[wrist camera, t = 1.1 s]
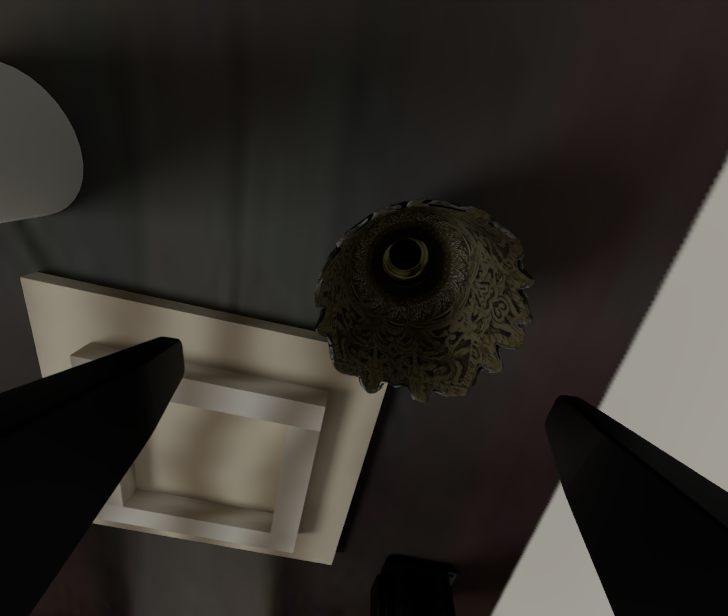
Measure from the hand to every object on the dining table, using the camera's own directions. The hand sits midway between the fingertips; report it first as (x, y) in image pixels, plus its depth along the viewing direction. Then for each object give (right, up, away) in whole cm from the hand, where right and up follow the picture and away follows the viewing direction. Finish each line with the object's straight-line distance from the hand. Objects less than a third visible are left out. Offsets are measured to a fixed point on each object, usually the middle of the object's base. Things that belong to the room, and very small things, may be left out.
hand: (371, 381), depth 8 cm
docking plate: (-11, -8, +17) cm, 22 cm away
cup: (+2, +5, +11) cm, 12 cm away
